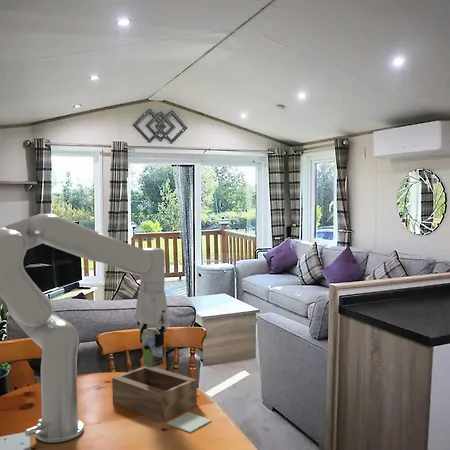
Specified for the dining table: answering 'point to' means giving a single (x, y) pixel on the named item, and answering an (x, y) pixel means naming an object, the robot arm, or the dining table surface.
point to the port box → (154, 392)
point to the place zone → (189, 422)
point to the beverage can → (151, 349)
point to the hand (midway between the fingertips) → (151, 343)
